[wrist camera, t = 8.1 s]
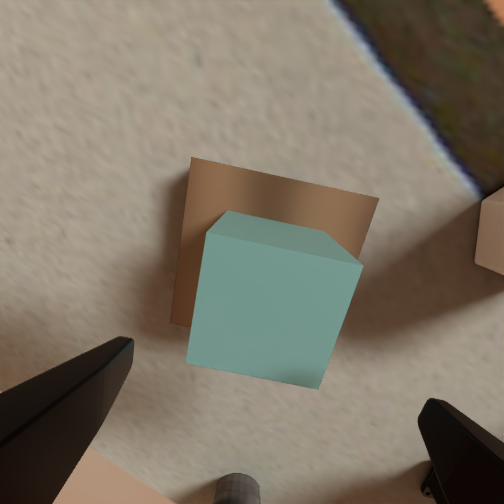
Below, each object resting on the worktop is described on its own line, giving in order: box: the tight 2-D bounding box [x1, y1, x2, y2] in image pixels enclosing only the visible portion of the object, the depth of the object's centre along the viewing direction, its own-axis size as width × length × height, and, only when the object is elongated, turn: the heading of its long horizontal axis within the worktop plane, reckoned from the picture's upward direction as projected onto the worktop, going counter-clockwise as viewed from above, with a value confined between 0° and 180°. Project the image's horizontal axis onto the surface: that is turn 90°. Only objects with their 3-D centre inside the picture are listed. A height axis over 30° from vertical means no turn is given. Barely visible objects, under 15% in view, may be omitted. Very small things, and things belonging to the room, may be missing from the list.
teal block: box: [186, 210, 364, 389], centre depth 13 cm, size 6×6×6 cm
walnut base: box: [170, 157, 379, 327], centre depth 17 cm, size 11×11×3 cm
